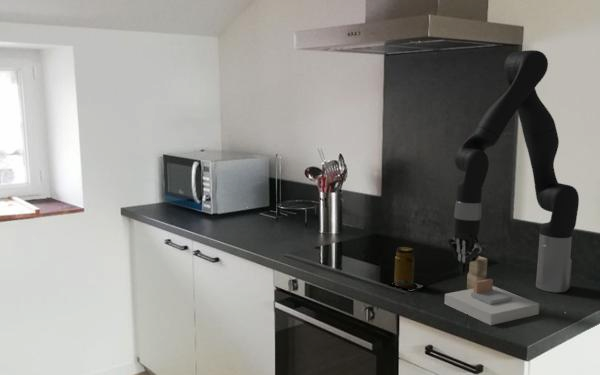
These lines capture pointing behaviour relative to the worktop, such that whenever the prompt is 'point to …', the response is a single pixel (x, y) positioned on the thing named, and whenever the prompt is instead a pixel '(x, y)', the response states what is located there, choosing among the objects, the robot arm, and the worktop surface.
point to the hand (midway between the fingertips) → (463, 273)
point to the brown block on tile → (488, 292)
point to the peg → (476, 271)
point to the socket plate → (492, 307)
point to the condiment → (405, 268)
